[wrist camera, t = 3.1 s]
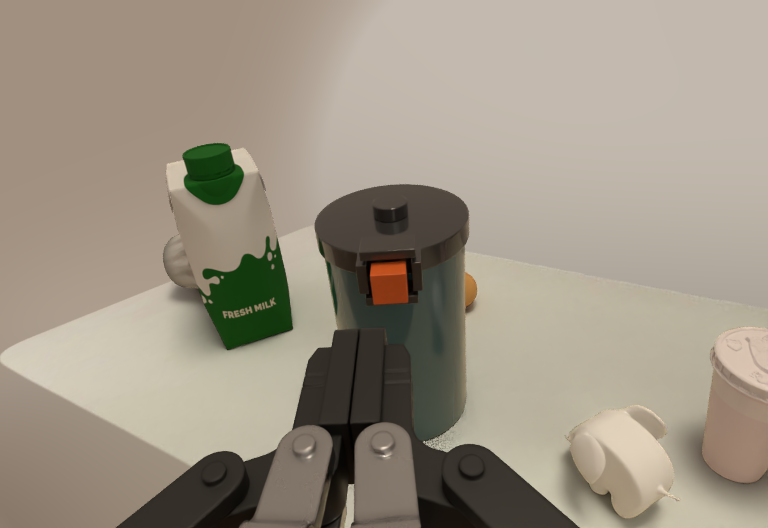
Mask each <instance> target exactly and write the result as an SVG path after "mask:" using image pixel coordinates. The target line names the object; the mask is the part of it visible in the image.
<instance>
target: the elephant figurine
mask: <svg viewBox="0 0 768 528" xmlns="http://www.w3.org/2000/svg"><path fill="white" fill-rule="evenodd" d="M667 431H668V430H667V427H666V425H665V424H664V422H663V421H662V420H661V419H660V418H659V416H657V415H656V414H655V413H654V412H653V411H651V410H650V409H648V408H646V407H643V406H638V405H633V406H629V407H625V408H622V409H620V410H614V409H608V410H604V411H602V412H600V413H598V414H596V415H595V416H594V417H592V418H591V419H589V420H587V421H585V422H583V423H582V424H580V425H578V426H576V427H575V428H574V429H572V430H571V431H570V433H569V437H567V436H566V435H565V437H566V439H567V440H568V441H569V442H571V445H570V450H571V455H572V458H573V461H574V463H575V465H576V467H577V469H578V470H579V472H580V473H581V475H582V476H583V477H584V479H585V480H586V481H587V482H588V483H590V487H591V489H592V490H593V491H594V492H596V493H598V494H601V495H604V494H606V493H608V491H609V492H610V493H611V496H612V499H611V501H612V505H613V508H614V510H615V511H616V512H617V514H619V515H620V516H621V517H623V518H633V517H636V516H637V515H639V514H641V513H642V512H644V511H645V510H646V509H647V508H648V507H649V506H650V505H651V504H652V503H653V502H656V501H658V500H659V499H661V498H662V497H664V496H665V495H666V496H669V497H671V498H674V499H676V501H680V499H679V498H677V497H673V496H672V495H670V494H669V493H668V491H669V489H670V488H671V486H672V484H673V481H674V470H673V466H672V464H671V461H670V459H669V457H668V455H667V454H666V452H665V450H664V449H663V447H662V446H661V445H660V444H659V442H658V441H657V439H660V438H662V437H663V436H664V435H666V434H667Z"/></svg>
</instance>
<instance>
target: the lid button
mask: <svg viewBox="0 0 768 528" xmlns="http://www.w3.org/2000/svg"><path fill="white" fill-rule="evenodd" d="M370 281H371V288H372V296H373V304H374V305H376V304H394V303H408V282H407V270H406V261H396V262H380V263H371V271H370Z"/></svg>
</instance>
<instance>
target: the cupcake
mask: <svg viewBox="0 0 768 528" xmlns="http://www.w3.org/2000/svg"><path fill="white" fill-rule="evenodd" d="M163 262H164V266H165V269H166V272H167V274H168V276H169V277H170V279H171V280H172V281H173V282H174V283H175V284H177V285H179V286H182V287H185V288H196V289H198V286H197V283H196V280H195V278H194V275H193V272H192V269H191V266H190V263H189V261H188V258H187V255H186V252H185V249H184V246H183V244H182V241H181V238H180V235H179V234H178V235H176V236H174V237H172V238H171V239H170V240H169V241H168V243H167V244H166V246H165V248H164V253H163Z"/></svg>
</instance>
